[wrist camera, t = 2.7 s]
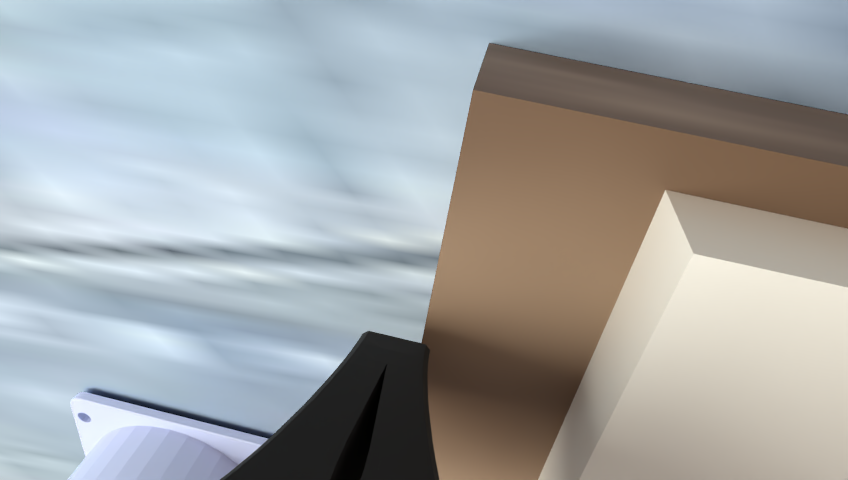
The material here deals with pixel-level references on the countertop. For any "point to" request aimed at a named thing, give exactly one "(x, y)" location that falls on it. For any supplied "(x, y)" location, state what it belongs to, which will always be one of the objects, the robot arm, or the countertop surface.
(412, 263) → the countertop surface
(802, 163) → the board
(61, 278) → the countertop surface
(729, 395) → the block
